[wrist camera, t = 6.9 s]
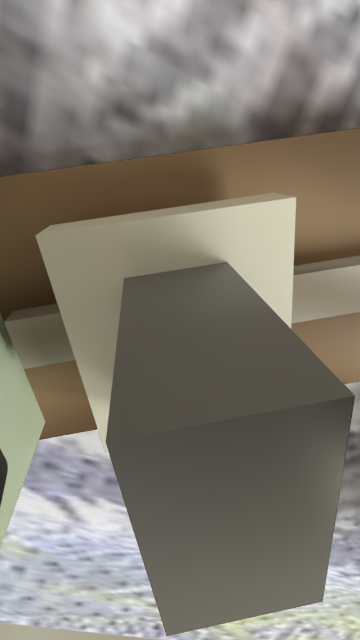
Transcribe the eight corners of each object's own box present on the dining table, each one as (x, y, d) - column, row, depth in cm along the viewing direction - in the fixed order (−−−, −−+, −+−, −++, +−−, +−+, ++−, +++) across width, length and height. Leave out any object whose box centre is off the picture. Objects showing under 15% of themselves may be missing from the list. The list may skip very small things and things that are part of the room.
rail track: (428, 348, 17) (471, 376, 15) (-62, 436, 16) (-95, 480, 14) (491, 110, 12) (568, 98, 10) (-209, 206, 11) (-297, 216, 9)
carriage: (264, 379, 14) (406, 615, 7) (110, 406, 14) (79, 691, 6) (263, 190, 11) (559, 246, 3) (56, 220, 10) (-154, 364, 3)
